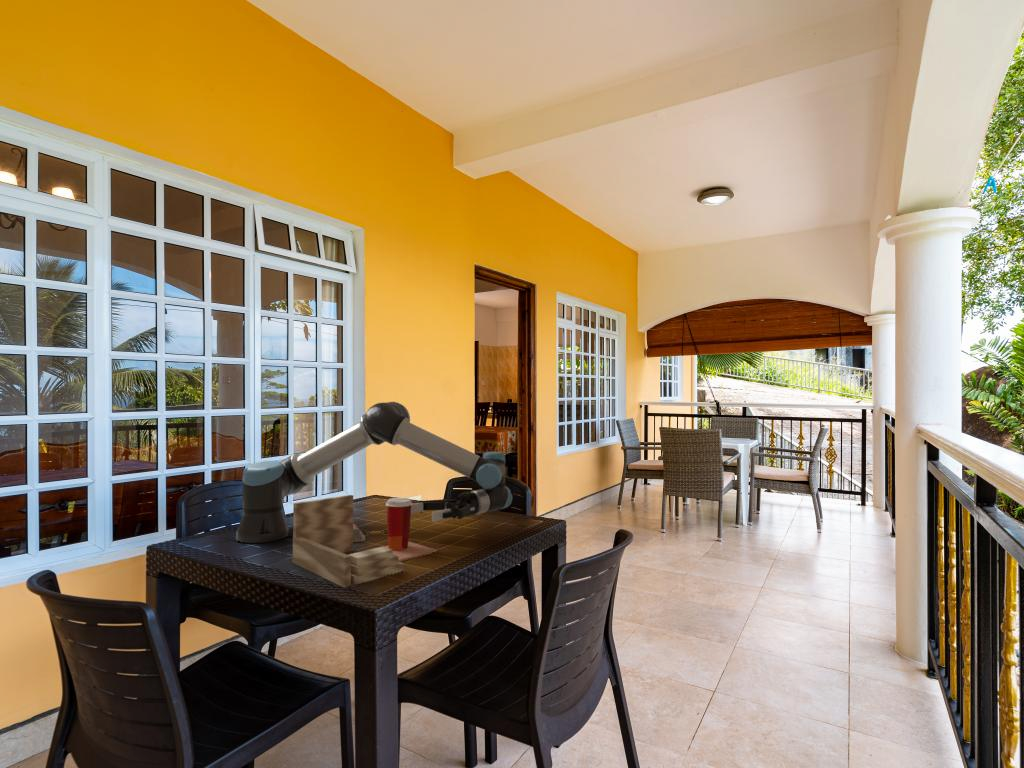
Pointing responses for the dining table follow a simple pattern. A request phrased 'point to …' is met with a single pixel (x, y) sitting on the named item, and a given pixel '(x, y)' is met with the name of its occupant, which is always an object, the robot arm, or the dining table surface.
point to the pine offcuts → (373, 564)
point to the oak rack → (324, 537)
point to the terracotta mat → (412, 551)
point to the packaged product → (357, 534)
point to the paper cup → (398, 522)
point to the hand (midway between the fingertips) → (418, 513)
